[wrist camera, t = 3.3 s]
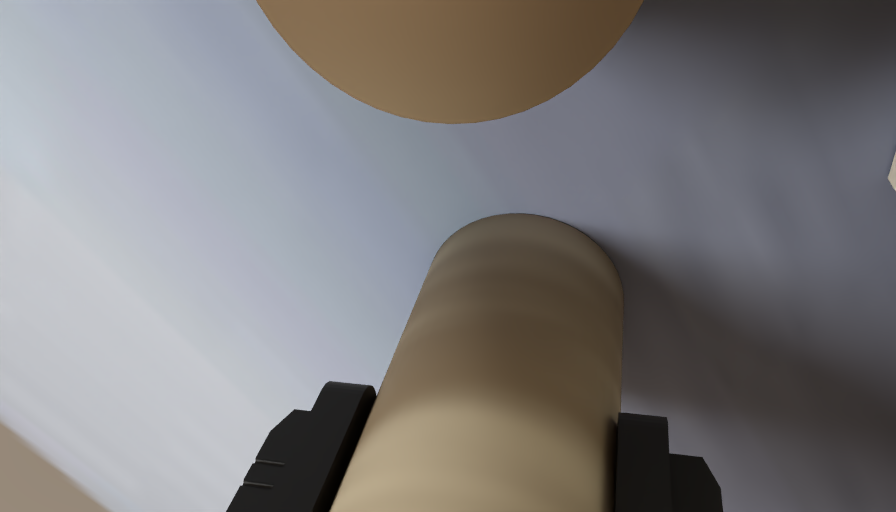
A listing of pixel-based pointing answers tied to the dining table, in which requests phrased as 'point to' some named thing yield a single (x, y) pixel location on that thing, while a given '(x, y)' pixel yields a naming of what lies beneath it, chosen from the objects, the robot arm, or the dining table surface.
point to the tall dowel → (500, 380)
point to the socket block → (893, 173)
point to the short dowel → (451, 50)
